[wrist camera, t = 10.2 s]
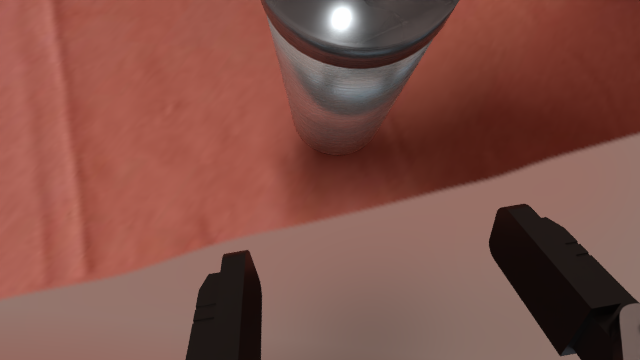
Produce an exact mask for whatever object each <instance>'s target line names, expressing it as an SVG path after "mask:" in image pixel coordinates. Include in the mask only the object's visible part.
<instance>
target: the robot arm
mask: <svg viewBox="0 0 640 360" xmlns="http://www.w3.org/2000/svg"><path fill="white" fill-rule="evenodd" d="M489 247H490V252H491V254H492V256H493V258H494V260H495V261H496V263H497V264H498V266H499V267H500V269H501V270H502V272H503V273H504V275H505V276H506V278H507V279H508V281H509V282H510V283H511V285H512V286H513V288H514V289H515V291H516V292H517V293H518V295H519V297H520V298H521V300H522V301H523V302H524V304H525V305H526V307H527V308H528V310H529V311H530V313H531V314H532V316H533V317H534V318H535V320H536V321H537V323H538V324H539V326H540V327H541V329H542V330H543V332H544V333H545V335H546V336H547V338H548V339H549V340H550V342H551V343H552V345H553V346H554V348H555V349H556V351H557V352H558V354H559V355H560V356H564V355H570V354H575V353H577V355H578V356H579V357H580V359H581V360H640V303H639V302H638V301H637V300H635V299H634V298H633V297H632V296H631V295H630V294H629V293H628V292H627V291H626V290H625V289H624V288H623V287H622V286H621V285H620V284H619V283H618V282H617V281H616V280H615V279H614V278H613V277H612V276H611V275H610V274H609V273H608V272H607V271H606V270H605V269H604V268H603V267H602V266H601V265H600V264H599V262H597V260H596V259H595V258H593V256H592V255H591V256H590V255H589V254H588V251H587V250H586V249H585V248H583V246H581V244H578V243H577V240H576V239H575V238H574V237H573V236H572V235H571V234H570V233H569V232H568V231H567V230H566V229H565V228H564V227H562V226H560V225H559V224H557V223H555V222H553V221H552V220H550V219H548V218H546V217H545V218H541V217H540V216H539V215H538V214H537V213H536V212H535V211H534V210H533V209H532V208H531V207H530V206H529V205H526V204H520V205H514V206H508V207H502V208H500V209H498V211H497V214H496V217H495V221H494V224H493V228H492V232H491V235H490V239H489ZM193 322H194V323H193V324H192V329H191V334H190V340H189V345H188V350H187V355H186V360H261V322H262V292H261V284H260V280H259V277H258V274H257V271H256V268H255V266H254V263H253V260H252V257H251V255H250V252H249V251H248V250H245V251H239V252H234V253H228V254H224V255H223V258H222V264H221V271H220V272H219V273H213V274H209V275H208V276H207V278H206V280H205V281H204V283H203V284H202V286H201V288H200V289H199V293H198V298H197V303H196V310H195V314H194V319H193Z"/></svg>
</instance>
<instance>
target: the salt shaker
mask: <svg viewBox="0 0 640 360" xmlns="http://www.w3.org/2000/svg"><path fill="white" fill-rule="evenodd" d="M458 2H459V0H261V3H262V5H263V8H264V10H265V12H266V15H267V18H268V22H269V26H270V30H271V34H272V38H273V42H274V46H275V50H276V54H277V58H278V62H279V66H280V70H281V74H282V78H283V82H284V86H285V90H286V94H287V98H288V102H289V106H290V110H291V114H292V118H293V122H294V125H295V128H296V130H297V132H298V134H299V135H300V137H301V138H302V139H303V140H304V142H305V143H306V144H308V145H309V146H310V147H312V148H313V149H315V150H317V151H319V152H322V153H325V154H329V155H345V154H349V153H353V152H355V151H357V150H359V149H361V148H363V147H364V146H365V145H367V144H368V143H369V142H370V141H371V139H372V138H373V137H374V136H375V134H376V132H377V131H378V129H379V127H380V126H381V124H382V122H383V121H384V119H385V117H386V116H387V114H388V112H389V111H390V109H391V107H392V106H393V104H394V103H395V101H396V99H397V98H398V96H399V94H400V93H401V91H402V89H403V88H404V86H405V84H406V83H407V81H408V79H409V78H410V76H411V75H412V73H413V71H414V70H415V68H416V66H417V65H418V63H419V61H420V60H421V58H422V56H423V55H424V53H425V51H426V50H427V48H428V46H429V45H430V43H431V42H432V40H433V38H434V37H435V36H436V35H437V34H438V32H439V31H440V30H441V29H442V27H443V26H444V24H445V23H446V21H447V19H448V18H449V16H450V14H451V13H452V11H453V10H454V8H455V6H456V5H457V3H458Z"/></svg>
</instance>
